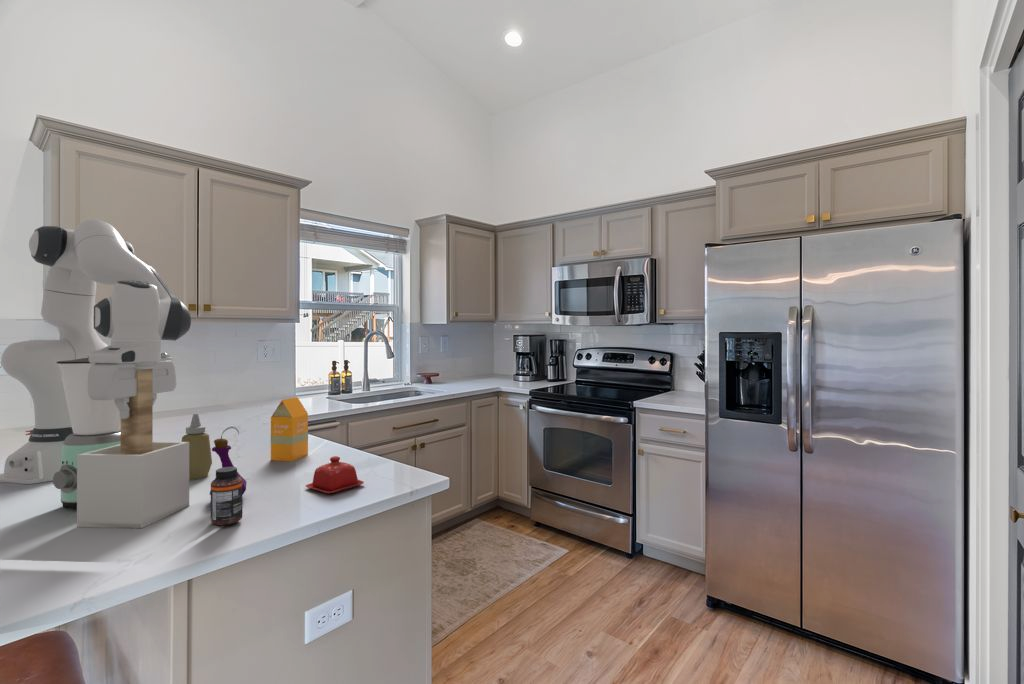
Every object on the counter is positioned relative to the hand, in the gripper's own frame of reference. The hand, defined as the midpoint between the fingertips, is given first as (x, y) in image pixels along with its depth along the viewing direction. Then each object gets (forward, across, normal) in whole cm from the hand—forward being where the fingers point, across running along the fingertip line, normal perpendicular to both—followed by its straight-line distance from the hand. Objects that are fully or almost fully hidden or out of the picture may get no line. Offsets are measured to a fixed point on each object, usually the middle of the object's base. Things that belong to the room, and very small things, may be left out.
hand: (136, 416), depth 109 cm
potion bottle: (+22, -11, +14) cm, 29 cm away
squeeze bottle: (+22, -30, -8) cm, 38 cm away
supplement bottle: (+22, +2, +22) cm, 31 cm away
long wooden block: (+19, 0, 0) cm, 19 cm away
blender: (+22, -9, -16) cm, 29 cm away
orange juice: (+22, -52, +8) cm, 57 cm away
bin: (+22, 0, 0) cm, 22 cm away
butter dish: (+22, -23, +35) cm, 48 cm away
